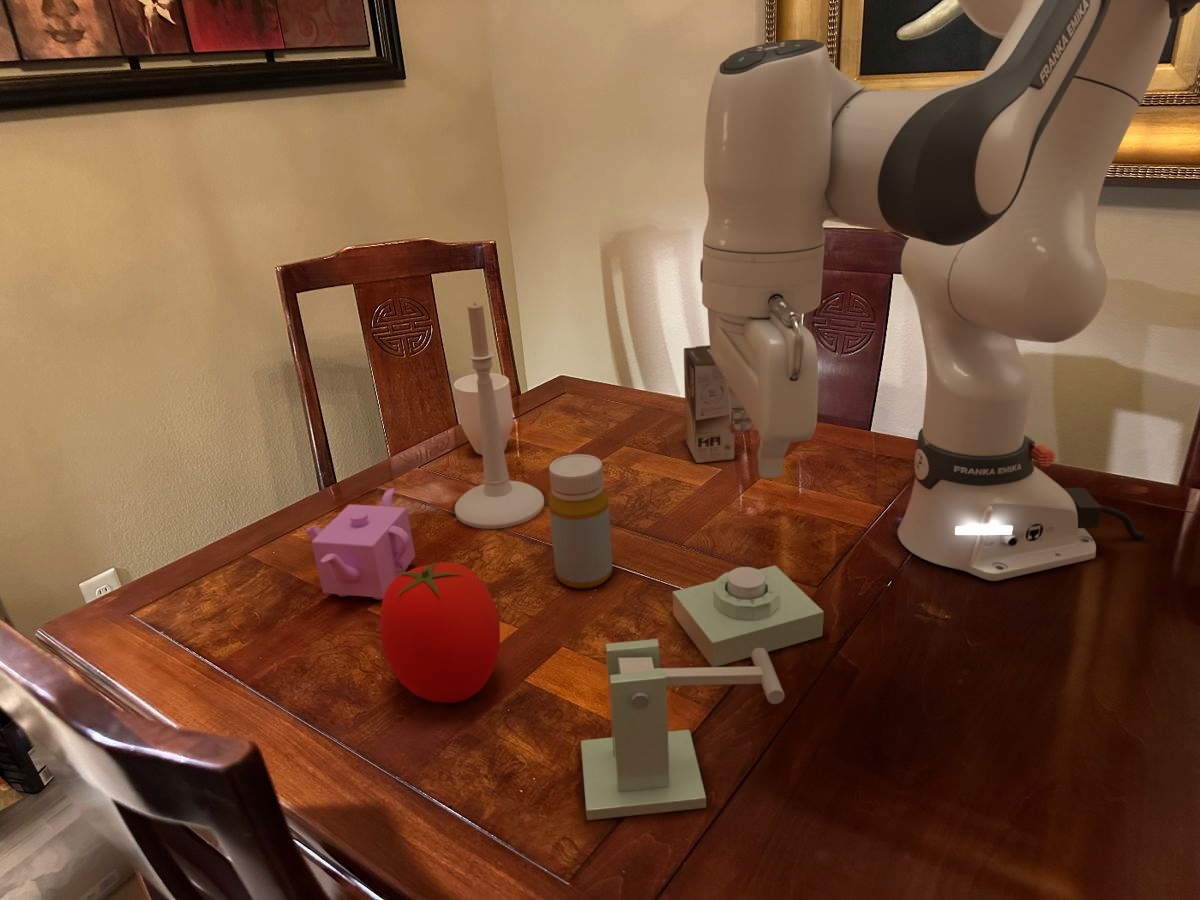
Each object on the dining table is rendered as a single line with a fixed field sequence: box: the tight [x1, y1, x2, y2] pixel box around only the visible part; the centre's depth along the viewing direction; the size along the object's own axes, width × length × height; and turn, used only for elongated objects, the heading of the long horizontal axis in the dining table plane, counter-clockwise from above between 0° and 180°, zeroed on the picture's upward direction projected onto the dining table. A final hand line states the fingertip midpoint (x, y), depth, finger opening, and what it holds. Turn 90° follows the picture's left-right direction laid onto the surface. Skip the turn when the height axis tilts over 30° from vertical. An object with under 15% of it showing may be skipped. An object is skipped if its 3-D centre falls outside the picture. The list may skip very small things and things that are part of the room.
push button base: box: [672, 565, 825, 667], centre depth 91 cm, size 13×10×5 cm
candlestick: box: [454, 301, 545, 530], centre depth 115 cm, size 13×13×30 cm
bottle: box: [548, 453, 613, 590], centre depth 100 cm, size 7×7×15 cm
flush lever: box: [617, 648, 786, 705], centre depth 69 cm, size 13×6×2 cm, turn 94°
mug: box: [453, 372, 514, 456], centre depth 138 cm, size 12×9×12 cm
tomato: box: [379, 561, 501, 704], centre depth 83 cm, size 13×11×14 cm
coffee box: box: [683, 344, 736, 464], centre depth 131 cm, size 9×6×16 cm
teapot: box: [304, 487, 416, 600], centre depth 103 cm, size 18×13×10 cm
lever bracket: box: [580, 638, 707, 821], centre depth 71 cm, size 10×8×13 cm
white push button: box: [727, 566, 766, 600], centre depth 90 cm, size 4×4×2 cm
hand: (754, 449), depth 69 cm, fingers open, 8 cm apart
